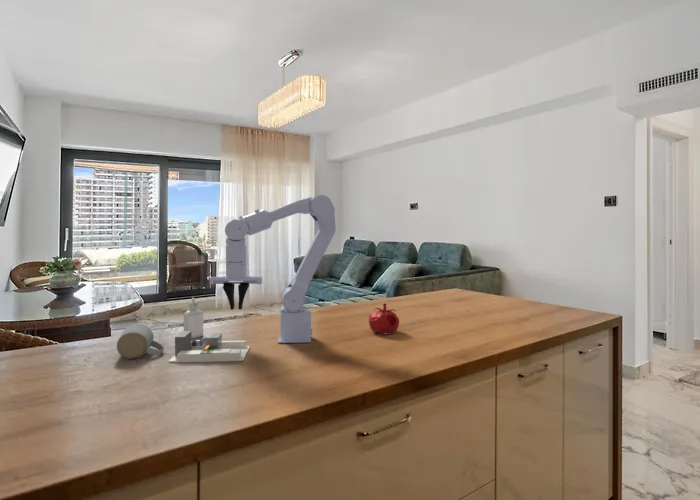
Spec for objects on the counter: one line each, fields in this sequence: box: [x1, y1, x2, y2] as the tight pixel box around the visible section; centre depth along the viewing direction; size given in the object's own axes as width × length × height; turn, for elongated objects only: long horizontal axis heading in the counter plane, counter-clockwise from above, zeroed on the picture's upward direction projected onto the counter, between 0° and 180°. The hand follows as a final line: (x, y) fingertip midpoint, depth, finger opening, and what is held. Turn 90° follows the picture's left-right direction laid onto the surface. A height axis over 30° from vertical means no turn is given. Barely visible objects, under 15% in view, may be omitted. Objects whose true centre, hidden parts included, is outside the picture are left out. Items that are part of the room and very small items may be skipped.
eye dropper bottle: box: [183, 297, 204, 340], centre depth 123 cm, size 4×6×12 cm
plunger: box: [192, 332, 223, 350], centre depth 105 cm, size 7×9×4 cm
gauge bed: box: [168, 330, 251, 364], centre depth 106 cm, size 18×11×5 cm, turn 96°
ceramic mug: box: [116, 323, 165, 360], centre depth 105 cm, size 11×8×8 cm
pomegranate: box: [368, 302, 400, 334], centre depth 131 cm, size 10×10×9 cm
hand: (236, 308), depth 117 cm, fingers closed
